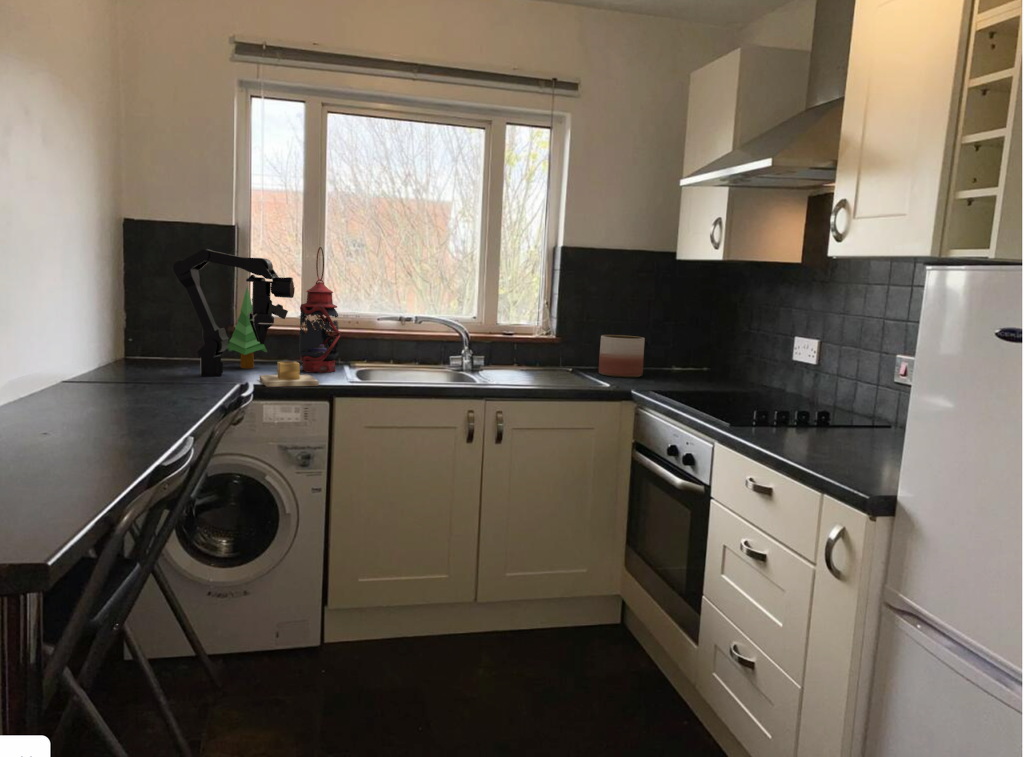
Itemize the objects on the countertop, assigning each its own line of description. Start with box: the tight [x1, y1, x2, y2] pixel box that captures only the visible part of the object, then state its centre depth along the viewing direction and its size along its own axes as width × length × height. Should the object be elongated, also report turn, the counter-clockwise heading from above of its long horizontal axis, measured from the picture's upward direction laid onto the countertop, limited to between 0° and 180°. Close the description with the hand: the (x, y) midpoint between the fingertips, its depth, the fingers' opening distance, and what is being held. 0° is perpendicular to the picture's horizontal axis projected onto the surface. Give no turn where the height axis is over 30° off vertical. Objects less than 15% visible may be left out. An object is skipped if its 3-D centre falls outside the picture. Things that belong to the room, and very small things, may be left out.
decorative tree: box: [226, 285, 268, 369], centre depth 280 cm, size 14×16×30 cm
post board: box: [258, 374, 320, 388], centre depth 249 cm, size 16×16×6 cm
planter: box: [598, 334, 645, 379], centre depth 311 cm, size 18×18×16 cm
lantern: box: [298, 246, 341, 374], centre depth 280 cm, size 16×15×45 cm
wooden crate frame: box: [277, 361, 301, 379], centre depth 249 cm, size 6×6×5 cm
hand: (260, 342), depth 257 cm, fingers open, 9 cm apart
